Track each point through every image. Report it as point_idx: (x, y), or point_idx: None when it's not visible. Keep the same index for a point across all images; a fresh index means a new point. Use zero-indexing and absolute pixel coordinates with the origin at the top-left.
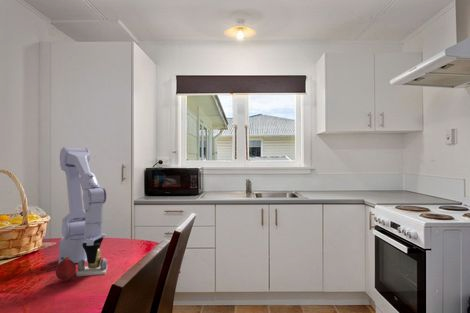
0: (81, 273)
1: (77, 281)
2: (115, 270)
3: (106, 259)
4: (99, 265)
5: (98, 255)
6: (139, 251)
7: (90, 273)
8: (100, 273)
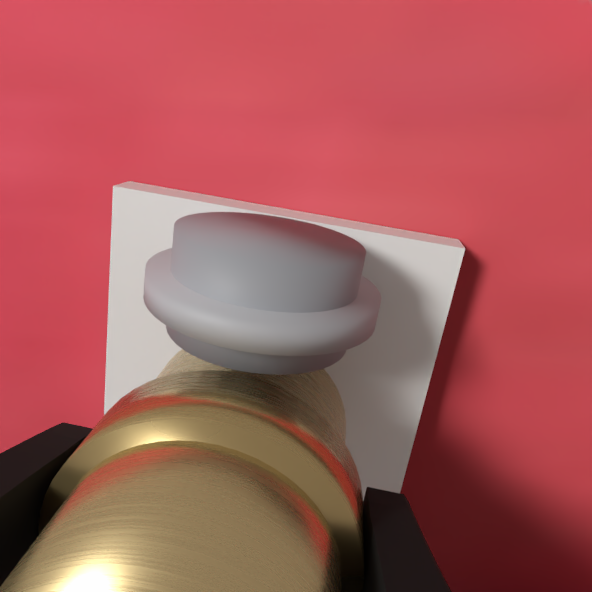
0: None
1: (578, 574)
2: (330, 50)
3: (253, 259)
4: None
5: (301, 519)
6: None
7: (410, 445)
8: (446, 310)
